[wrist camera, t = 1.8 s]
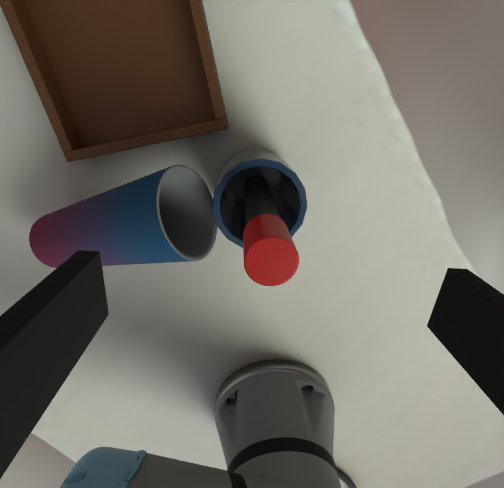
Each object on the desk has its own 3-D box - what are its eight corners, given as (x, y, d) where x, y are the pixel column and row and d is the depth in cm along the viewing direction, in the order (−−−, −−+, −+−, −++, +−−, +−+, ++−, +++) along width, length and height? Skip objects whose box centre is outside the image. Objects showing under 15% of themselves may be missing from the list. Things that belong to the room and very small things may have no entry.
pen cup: (296, 213, 30) (311, 240, 24) (228, 227, 31) (225, 257, 24) (285, 141, 28) (299, 149, 21) (210, 157, 28) (202, 170, 22)
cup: (55, 189, 28) (184, 146, 22) (104, 241, 32) (225, 218, 26) (-4, 239, 24) (139, 204, 17) (62, 293, 28) (197, 281, 21)
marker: (271, 198, 29) (302, 280, 15) (245, 204, 29) (249, 291, 15) (267, 171, 28) (295, 232, 14) (239, 177, 28) (238, 243, 14)
